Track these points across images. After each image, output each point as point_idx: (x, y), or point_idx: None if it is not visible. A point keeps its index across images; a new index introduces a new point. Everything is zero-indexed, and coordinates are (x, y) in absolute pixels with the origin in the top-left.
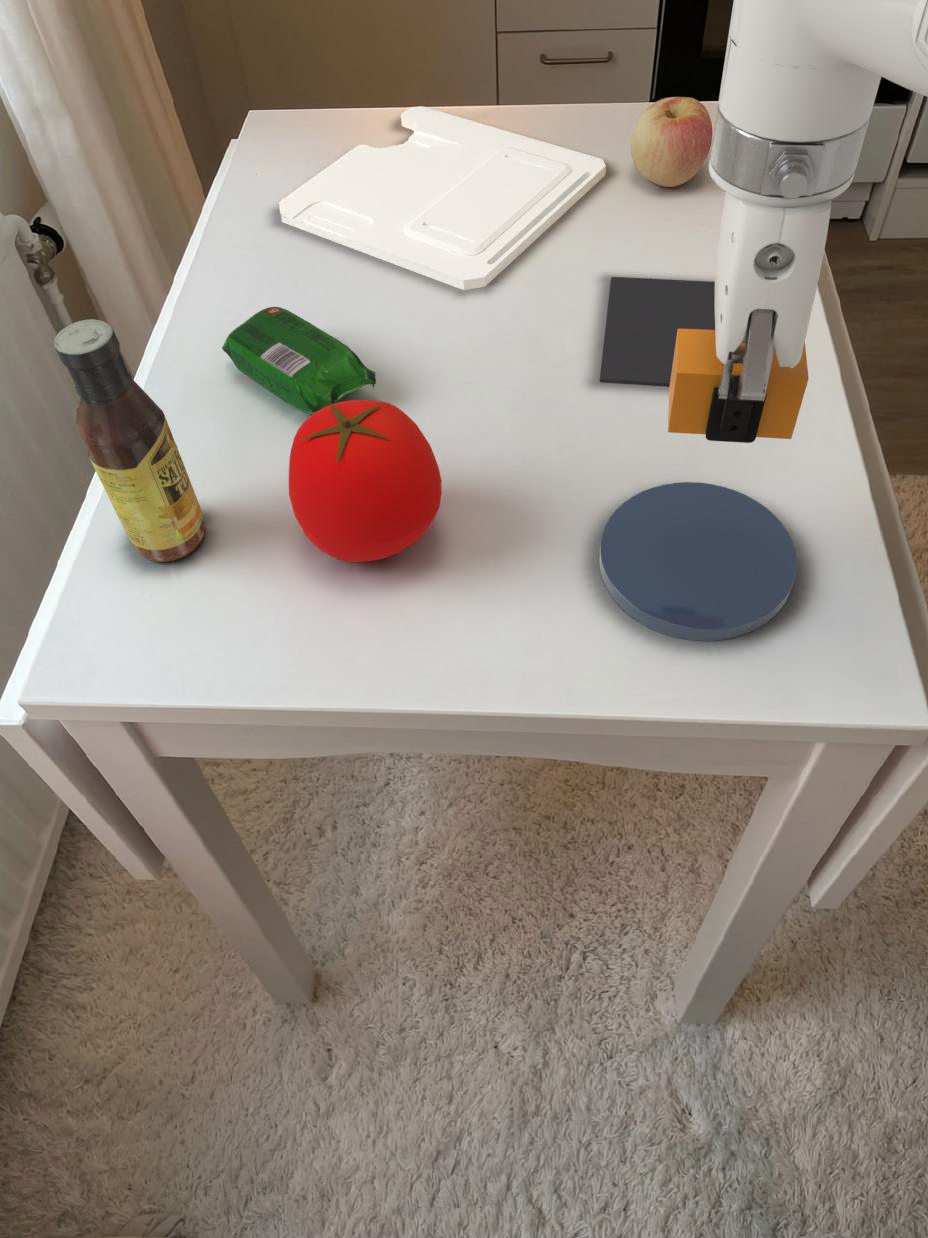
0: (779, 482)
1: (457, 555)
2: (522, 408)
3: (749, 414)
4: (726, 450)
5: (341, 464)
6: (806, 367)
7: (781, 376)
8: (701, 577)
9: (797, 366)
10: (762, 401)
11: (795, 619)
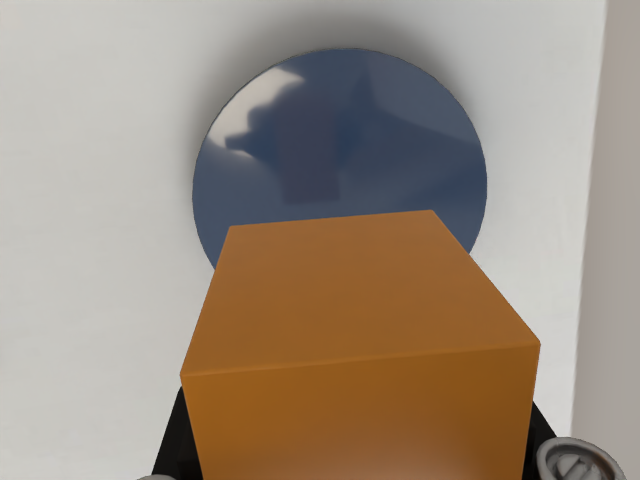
0: (129, 75)
1: None
2: (95, 445)
3: (544, 419)
4: (80, 170)
5: None
6: (455, 352)
7: (523, 440)
8: (393, 197)
9: (449, 387)
10: (592, 446)
11: (427, 41)
